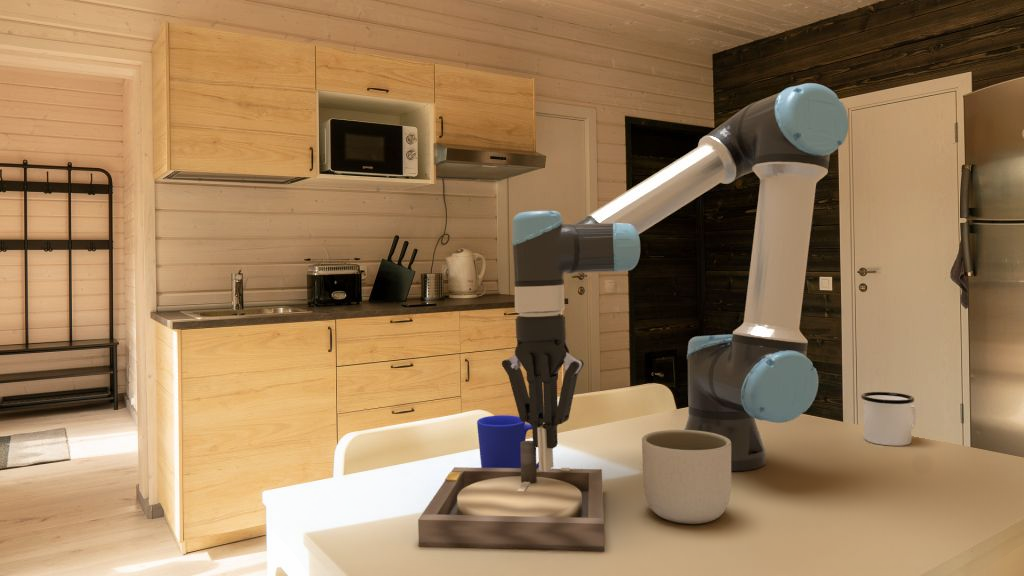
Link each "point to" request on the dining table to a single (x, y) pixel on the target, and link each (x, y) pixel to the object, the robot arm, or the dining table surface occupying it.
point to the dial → (521, 494)
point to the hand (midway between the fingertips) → (546, 468)
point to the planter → (687, 474)
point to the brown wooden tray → (514, 531)
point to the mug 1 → (501, 441)
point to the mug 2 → (888, 418)
